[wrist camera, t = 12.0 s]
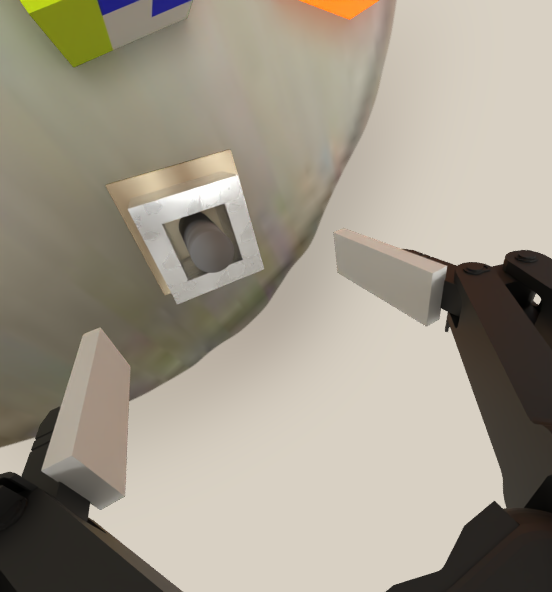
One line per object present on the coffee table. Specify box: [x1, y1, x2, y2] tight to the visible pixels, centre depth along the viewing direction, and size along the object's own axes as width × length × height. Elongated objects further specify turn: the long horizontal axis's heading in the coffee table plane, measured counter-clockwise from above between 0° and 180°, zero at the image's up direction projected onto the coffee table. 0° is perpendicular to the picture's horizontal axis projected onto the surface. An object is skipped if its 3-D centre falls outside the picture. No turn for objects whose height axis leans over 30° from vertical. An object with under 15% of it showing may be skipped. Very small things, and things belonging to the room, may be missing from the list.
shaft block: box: [105, 150, 238, 295], centre depth 25 cm, size 12×12×10 cm
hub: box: [128, 171, 264, 304], centre depth 26 cm, size 9×9×6 cm
